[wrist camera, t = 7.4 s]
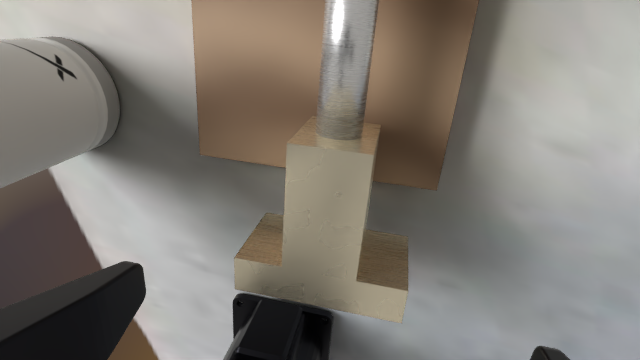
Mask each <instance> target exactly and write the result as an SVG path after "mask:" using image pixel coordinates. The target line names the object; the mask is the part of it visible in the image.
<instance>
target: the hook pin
mask: <svg viewBox="0 0 640 360" xmlns="http://www.w3.org/2000/svg"><path fill="white" fill-rule="evenodd" d="M378 6H379V0H325V11H324V25H323V38H322V52H321V65H320V79H319V92H318V106H317V117H316V116H312V117H311V118H310V119H309V120H308V121H307V122H306V123H305V124H304V125H303V126H302V127H301V129H300V130H299V131H298V132H297V133H296V134H295V135H294V136H293V137H292V138H291V139H290V140H289V141H288V142H287V152H286V175H285V198H284V215H278V214H272V213H266V214H265V215H264V217H263V218H262V219H261V221H260V222H259V224H258V225H257V227H256V228H255V229H254V231H253V232H252V234H251V235H250V236H249V238H248V239H247V241H246V242H245V243H244V245H243V246H242V248H241V249H240V250H239V252H238V253H237V255H236V256H235V258H234V267H235V289H237V290H242V291H247V292H252V293H257V294H262V295H266V296H271V297H276V298H281V299H286V300H291V301H296V302H301V303H305V304H310V305H315V306H320V307H325V308H330V309H335V310H339V311H344V312H349V313H354V314H359V315H364V316H369V317H373V318H378V319H383V320H388V321H393V322H398V323H402V318H403V314H404V309H405V304H406V300H407V295H408V237H407V236H401V235H395V234H389V233H384V232H378V231H372V230H366V224H367V217H368V210H369V203H370V196H371V189H372V182H373V175H374V168H375V161H376V155H377V148H378V141H379V134H380V127H381V125H379V124H371V123H364V117H365V109H366V101H367V93H368V85H369V77H370V69H371V61H372V53H373V45H374V37H375V29H376V22H377V14H378Z"/></svg>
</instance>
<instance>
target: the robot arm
mask: <svg viewBox="0 0 640 360" xmlns="http://www.w3.org/2000/svg"><path fill="white" fill-rule="evenodd" d="M145 295H146V287H145V280H144V272H143V267H142V266H141V265H140V264H138V263H133V262H128V261H123V262H120V263H118V264H115V265H113V266H110V267H107V268H105V269H102V270H100V271H97V272H94V273H92V274H89V275H87V276H84V277H82V278H79V279H76V280H74V281H71V282H69V283H66V284H63V285H61V286H58V287H56V288H53V289H51V290H48V291H45V292H43V293H40V294H38V295H35V296H32V297H30V298H27V299H25V300H22V301H19V302H17V303H14V304H12V305H9V306H6V307H4V308H1V309H0V360H107V359H108V358H109V356H110V355H111V353H112V351H113V350H114V348H115V347H116V345H117V344H118V342H119V340H120V339H121V337H122V335H123V334H124V332H125V330H126V328H127V327H128V325H129V323H130V322H131V321H132V319H133V317H134V316H135V314H136V312H137V311H138V309H139V307H140V306H141V304H142V302H143V300H144V298H145ZM240 301H242V302H243V303H242V302H240ZM322 318H324V319H327V320H323V319H322ZM332 324H333V316H332V314H331V313H329V312H327V311H324V310H319V309H314V308H309V307H304V306H299V305H295V304H290V303H285V302H280V301H275V300H270V299H266V298H261V297H256V296H251V295H246V294H237V295H236V297H235V298H234V300H233V333H234V340H233V342H232V344H231V346H230V348H229V350H228V351H227V353H226V355H225V357H224V359H223V360H328V358H329V349H330V341H331V333H332ZM530 360H570V359H569V358H568V357H567V356H566V355H565V354H564V353H563V352H561V351H560V350H558V349H554V348H549V347H545V346H537V347H536V348H535V350H534V351H533V354H532V356H531V359H530Z"/></svg>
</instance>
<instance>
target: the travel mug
mask: <svg viewBox="0 0 640 360" xmlns="http://www.w3.org/2000/svg"><path fill="white" fill-rule="evenodd" d="M119 116H120V104H119V98H118V93H117V90H116V88H115V85H114V82H113V80H112V78H111V77H110V75H109V73H108V71H107V70H106V68H105V67H104V66H103V64H102V63H101V62H100V61H99V60H98V59H97V58H96V57H95V56H94V55H93V54H92V53H91V52H90V51H88V50H87V49H86V48H84V47H83V46H81V45H80V44H78V43H76V42H74V41H71V40H68V39H65V38H61V37H40V38H29V39H4V40H0V188H1V187H4V186H6V185H9V184H11V183H13V182H16V181H18V180H20V179H23V178H25V177H28V176H30V175H32V174H35V173H37V172H39V171H42V170H44V169H47V168H49V167H51V166H54V165H56V164H58V163H61V162H63V161H66V160H68V159H70V158H73V157H75V156H77V155H80V154H82V153H84V152H87V151H89V150H92V149H94V148H96V147H99V146H101V145H103V144H104V143H106V142H107V141H108V140H109V139H110V138H111V137H112V135H113V134H114V132H115V130H116V128H117V126H118V121H119Z"/></svg>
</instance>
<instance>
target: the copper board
mask: <svg viewBox="0 0 640 360" xmlns="http://www.w3.org/2000/svg"><path fill="white" fill-rule="evenodd" d="M191 1H192V19H193V38H194V56H195V74H196V93H197V111H198V129H199V148H200V155H204V156H211V157H218V158H224V159H231V160H238V161H244V162H251V163H258V164H264V165H271V166H277V167H284V168H286V152H287V142H288V141H289V140H290V139H291V138H292V137H293V136H294V135H295V134H296V133H297V132H298V131H299V130H300V129H301V127H302V126H303V125H304V124H305V123H306V122H307V121H308V120H309V119H310V118H311V117H312V116H316V117H317V106H318V92H319V79H320V65H321V52H322V38H323V25H324V11H325V0H191ZM478 3H479V0H379V6H378V14H377V22H376V29H375V37H374V45H373V53H372V61H371V69H370V77H369V85H368V93H367V101H366V109H365V117H364V123H371V124H379V125H381V127H380V134H379V141H378V148H377V155H376V161H375V168H374V175H373V181H377V182H384V183H390V184H397V185H404V186H410V187H417V188H424V189H430V190H437V187H438V183H439V178H440V174H441V169H442V165H443V160H444V156H445V151H446V147H447V142H448V138H449V133H450V129H451V124H452V120H453V115H454V111H455V106H456V102H457V97H458V93H459V88H460V84H461V79H462V75H463V70H464V66H465V61H466V57H467V52H468V48H469V43H470V39H471V34H472V30H473V25H474V21H475V16H476V12H477V7H478Z"/></svg>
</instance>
